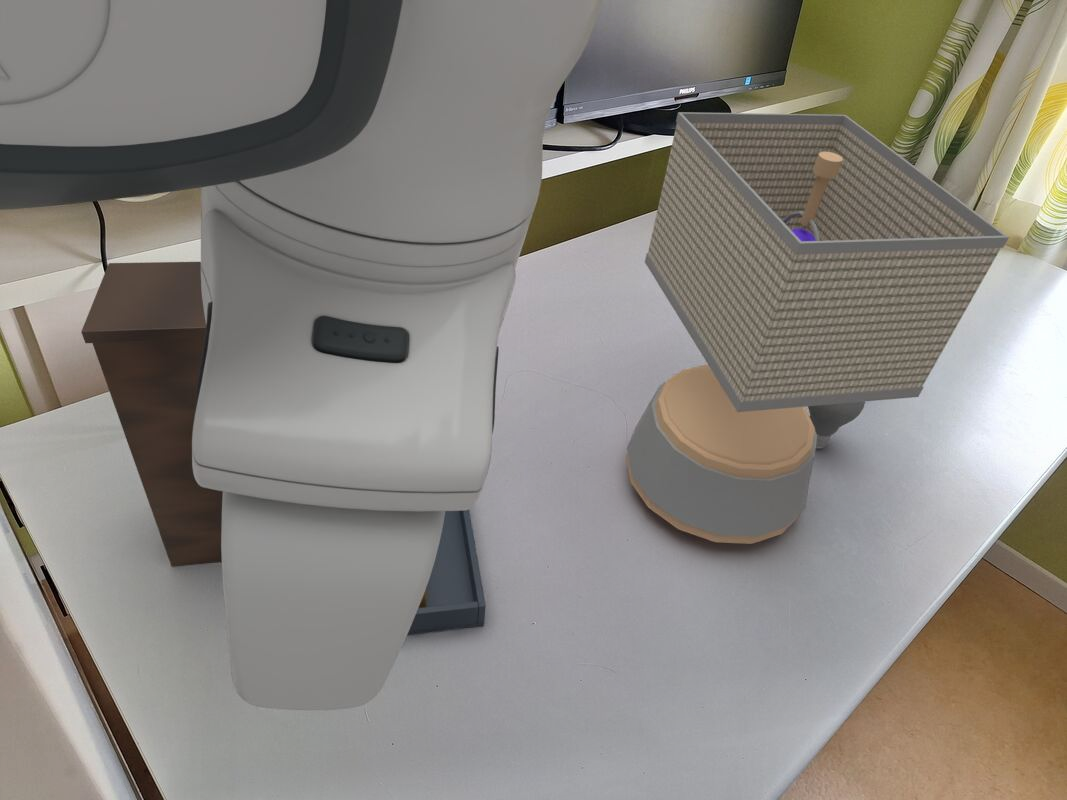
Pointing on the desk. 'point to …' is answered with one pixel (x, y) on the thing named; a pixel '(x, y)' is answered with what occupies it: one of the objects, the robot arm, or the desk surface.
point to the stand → (159, 393)
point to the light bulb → (832, 419)
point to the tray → (453, 581)
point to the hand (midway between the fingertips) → (317, 530)
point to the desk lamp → (790, 306)
